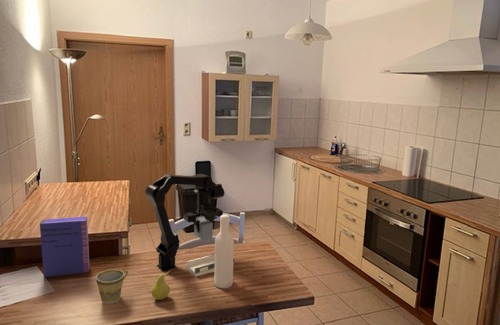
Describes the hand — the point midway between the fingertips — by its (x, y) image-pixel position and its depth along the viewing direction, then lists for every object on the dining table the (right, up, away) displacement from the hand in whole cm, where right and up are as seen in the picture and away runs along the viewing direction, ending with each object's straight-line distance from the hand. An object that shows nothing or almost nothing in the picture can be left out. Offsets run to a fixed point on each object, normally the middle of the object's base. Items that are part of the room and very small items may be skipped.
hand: (203, 231), depth 181 cm
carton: (0, -2, 0) cm, 2 cm away
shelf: (+4, -14, -9) cm, 17 cm away
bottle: (+11, -18, -24) cm, 32 cm away
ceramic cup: (-30, -19, -37) cm, 51 cm away
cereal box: (-57, -14, -18) cm, 61 cm away
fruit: (-12, -19, -36) cm, 42 cm away
